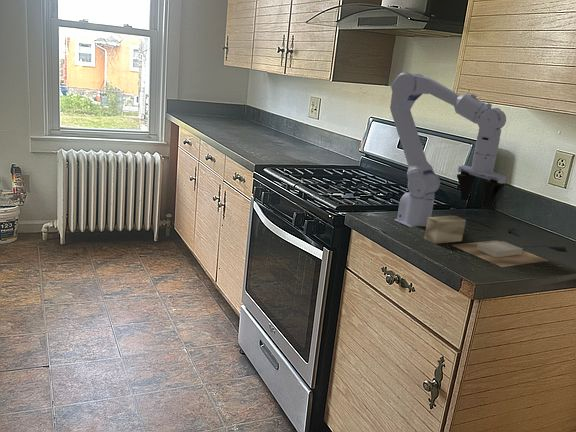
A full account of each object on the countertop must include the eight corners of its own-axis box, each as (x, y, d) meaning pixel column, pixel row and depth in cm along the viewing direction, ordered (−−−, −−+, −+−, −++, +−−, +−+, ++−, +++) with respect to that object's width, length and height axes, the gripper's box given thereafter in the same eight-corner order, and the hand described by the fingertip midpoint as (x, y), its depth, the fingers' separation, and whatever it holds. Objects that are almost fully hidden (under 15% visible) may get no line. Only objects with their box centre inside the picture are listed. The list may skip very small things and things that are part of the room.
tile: (477, 243, 139) (496, 251, 135) (503, 241, 145) (522, 248, 140) (476, 250, 140) (495, 258, 135) (502, 247, 145) (521, 254, 140)
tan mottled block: (423, 242, 145) (427, 217, 143) (449, 240, 150) (454, 215, 148) (434, 247, 142) (439, 221, 140) (460, 244, 147) (466, 219, 145)
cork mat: (450, 248, 142) (451, 244, 142) (496, 243, 151) (497, 240, 151) (501, 271, 129) (502, 267, 129) (547, 264, 138) (548, 260, 138)
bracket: (527, 236, 166) (529, 227, 165) (565, 252, 152) (567, 243, 152) (488, 236, 161) (490, 227, 161) (523, 253, 148) (525, 243, 147)
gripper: (454, 149, 150) (445, 197, 153) (497, 159, 138) (486, 211, 141) (471, 149, 153) (462, 196, 157) (515, 159, 142) (504, 210, 145)
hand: (475, 203), depth 149 cm, fingers open, 7 cm apart
